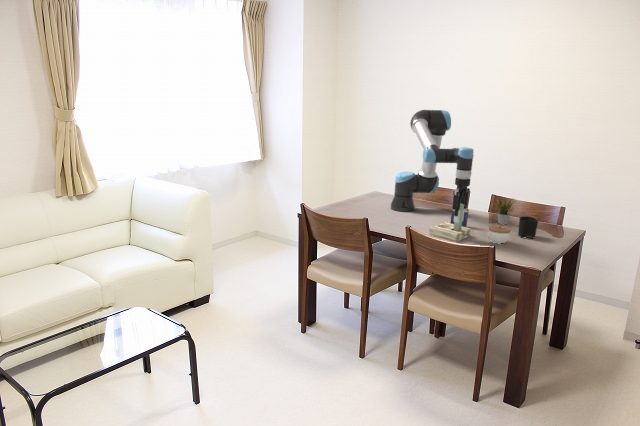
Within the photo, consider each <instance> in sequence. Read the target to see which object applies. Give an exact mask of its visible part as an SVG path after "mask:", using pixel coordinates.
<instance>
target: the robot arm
mask: <svg viewBox="0 0 640 426" xmlns="http://www.w3.org/2000/svg"><path fill="white" fill-rule="evenodd" d="M451 127H452V118H451V114H450V112H449V111H448V110H443V109H421V110H418V111H416V112H415V113H414V114H413V115H412V117H411V119H410V128H411V130H412V132H413V133H414V134H416V137H417V138H418V140H419V143H420V145H421V147H422V149H423V151H422V164H421V168H420V169H419V170H418V173H417V174H415V172H414V171H402V172H399V173H396V175H395V179H394V182H395V183H394V195H393V198H392V201H391V203H390V209H391V210H393V211H397V212H405V213H406V212H414V211H415V210H416V209H415V207H416V206H415V202H414V198H413V197H414V194H434V193H435V192H437V189H438V188H439V184H440V182H439V181H440V178H439V177H440V176H439V175H438V173H437V172H436V170H437V164H441V163H442V164H456V169H455V170H456V171H455V178H454V179H455V180H454V185H455V186H456V190H454V191H453V193H452V195H453V197H452V208H451V209H452V210H455V212H454V222H459V216H460V210H459V209H460V204H461V203H462V204H464V210H463V218H464V211H465V210H467V207H468V203H469V202H468V201H469V195H470V190H471V188H468V187H470V185H471V177H472V174H473V172H472V169H473V161H474V149H473V148H472V147H468V146H467V147H464V146H463V147H462V146H461V147H452V148H441V144H442V140H443V139H442V138H443V137H444V136H445V135H446V134H447V133H446V132H447V131H450V129H451ZM462 221H463V219H462Z"/></svg>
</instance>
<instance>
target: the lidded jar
mask: <svg viewBox="0 0 640 426" xmlns="http://www.w3.org/2000/svg"><path fill="white" fill-rule="evenodd" d="M511 232H512V231H511V228H509V227H507V226H505V225H501V224H498V225H490V226H489V227H488V237H489V240H490V241H491V243H492V242H493V244H495V243H500V244H499V245H502V244H501V243H504V244H505V243H506V242H507V241H508V240H509V238H510V235H511Z"/></svg>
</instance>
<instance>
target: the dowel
mask: <svg viewBox="0 0 640 426" xmlns="http://www.w3.org/2000/svg"><path fill="white" fill-rule="evenodd" d="M459 210H460V216H459V222H454V230H456V231H461V228H462V219H463V210H464V211H465V209H464V204H462V203H461V204H460V209H459Z"/></svg>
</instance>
